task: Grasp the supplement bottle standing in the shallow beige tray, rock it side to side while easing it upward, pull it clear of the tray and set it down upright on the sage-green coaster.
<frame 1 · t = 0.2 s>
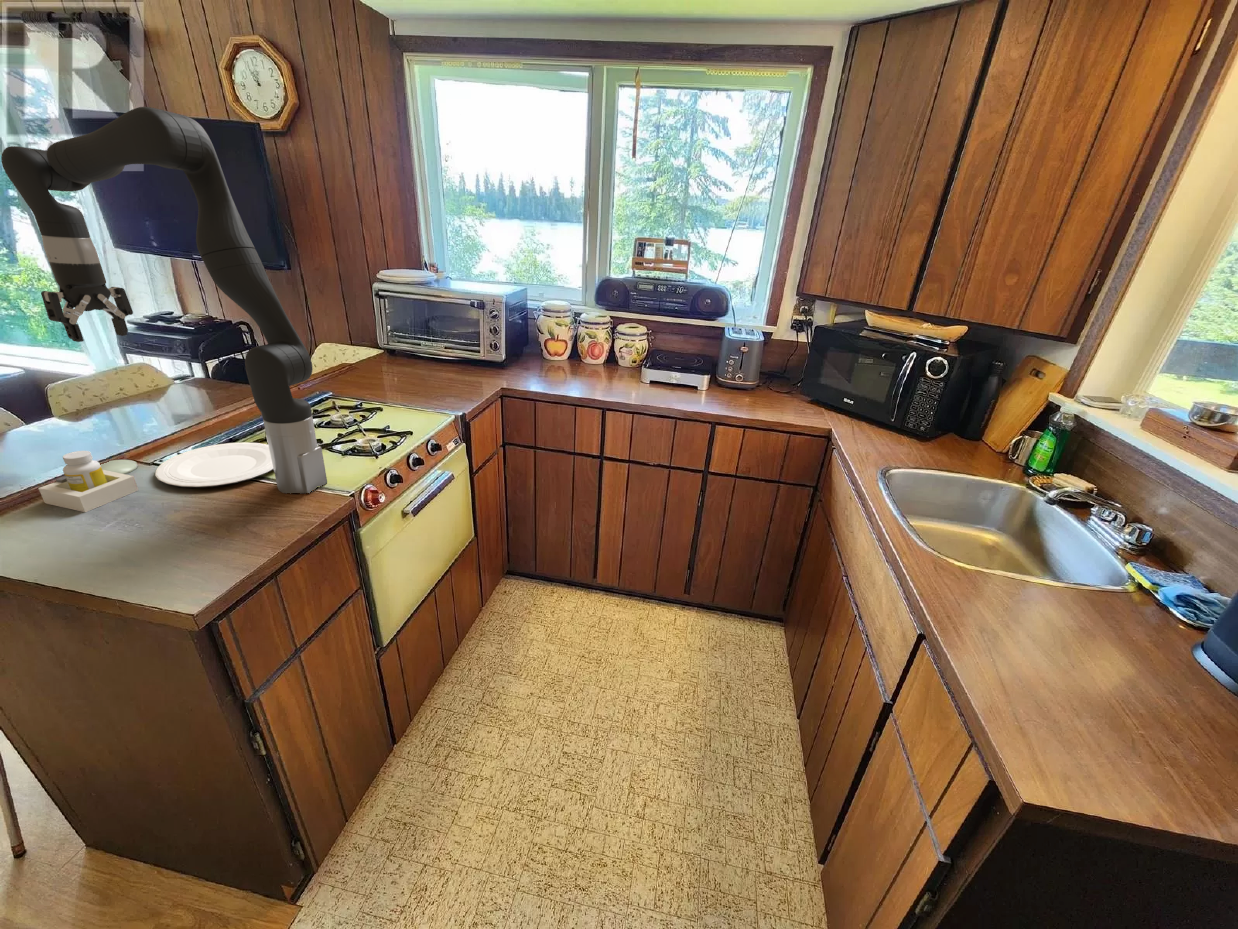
hand: (101, 338, 111), 29 cm above the table, fingers open, 8 cm apart
coaster: (111, 470, 115), on the table
plate: (225, 469, 121), on the table
supplement bottle: (93, 497, 105), resting in shallow beige tray
shallow beige tray: (93, 496, 105), on the table
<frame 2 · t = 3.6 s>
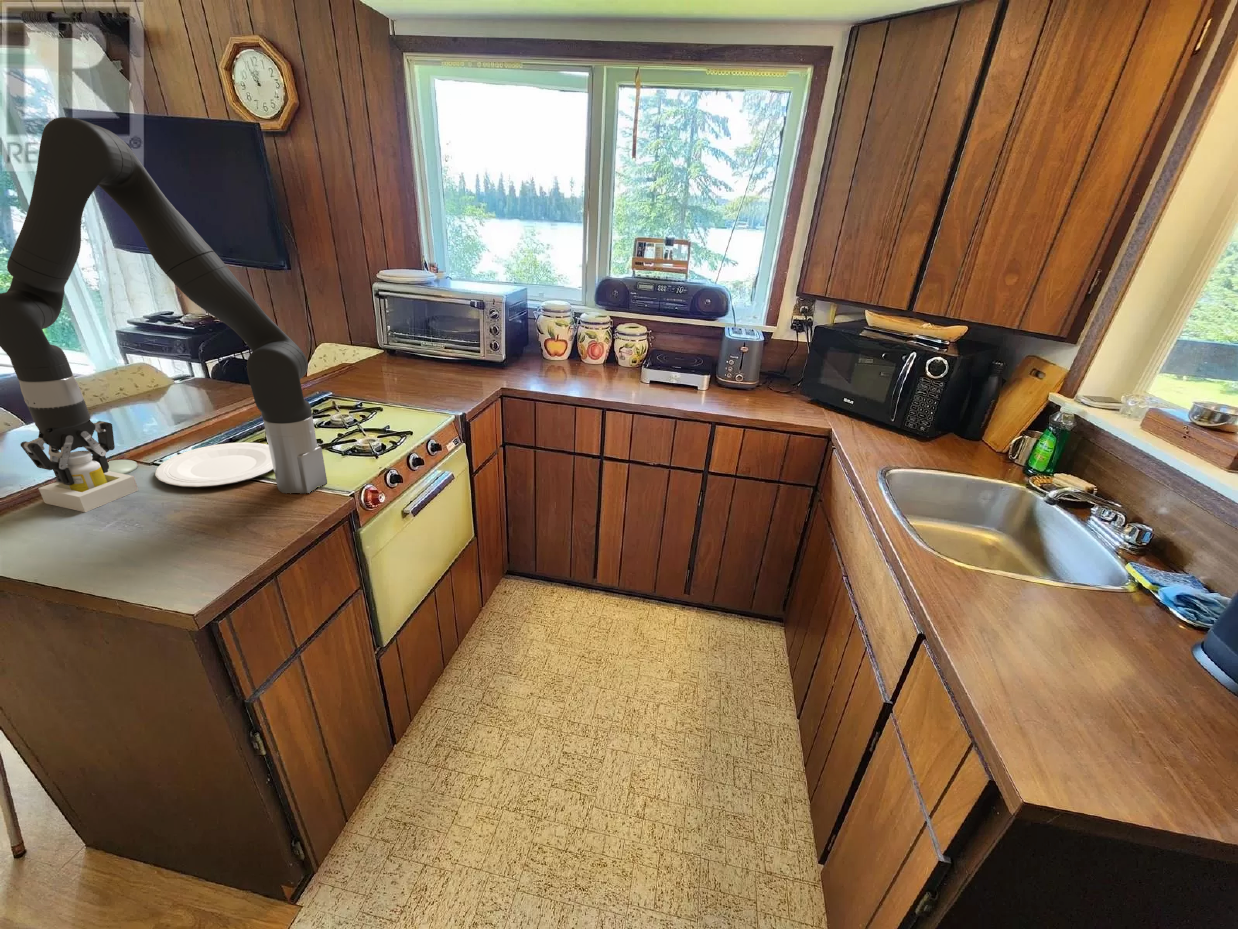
hand: (86, 477, 103), 4 cm above the table, fingers closed on supplement bottle, 5 cm apart
supplement bottle: (93, 497, 105), resting in shallow beige tray, touching gripper
everything else where it was.
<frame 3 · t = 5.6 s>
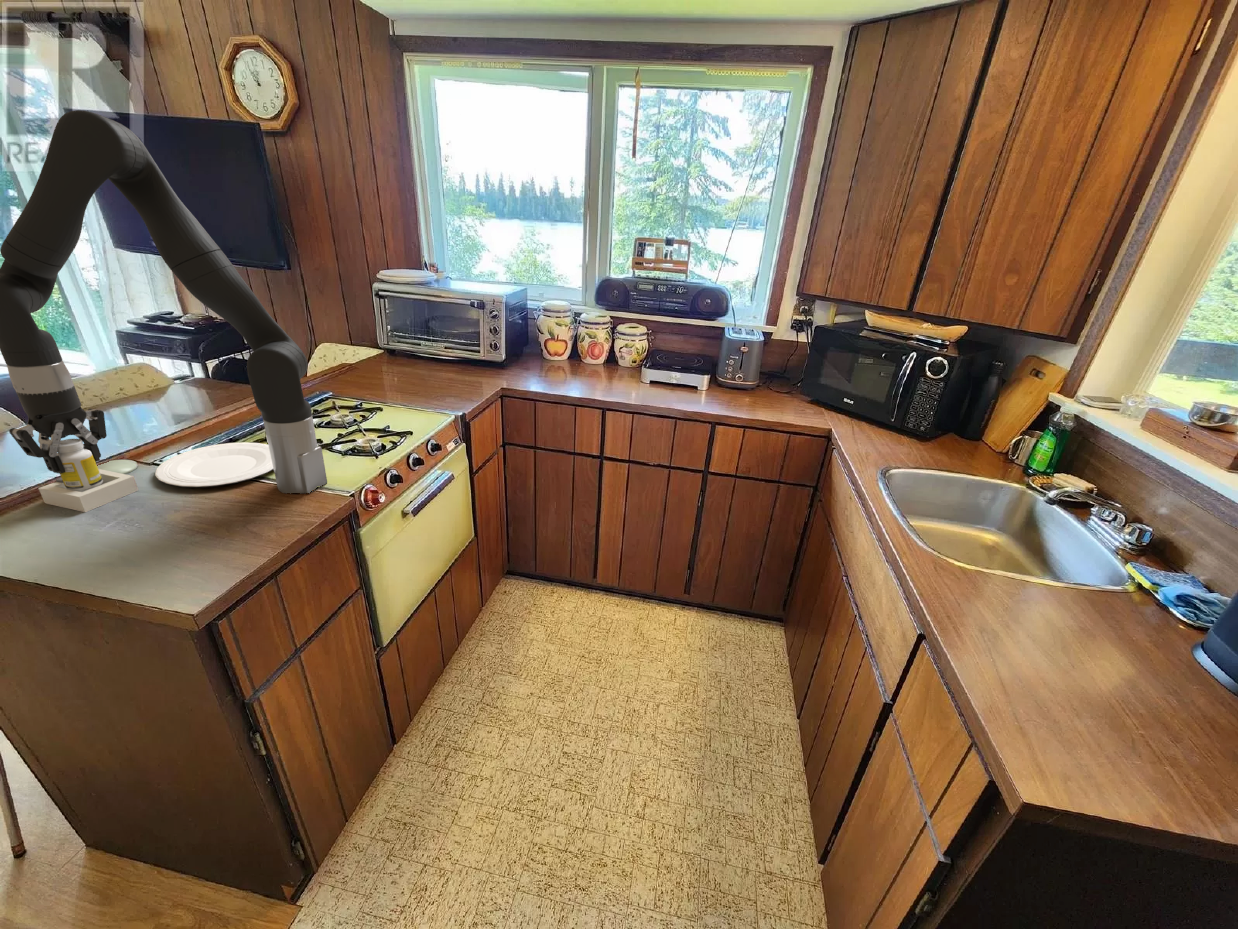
hand: (77, 466, 101), 7 cm above the table, fingers closed on supplement bottle, 5 cm apart
supplement bottle: (85, 486, 103), point 3 cm above the table, touching gripper
everything else where it was.
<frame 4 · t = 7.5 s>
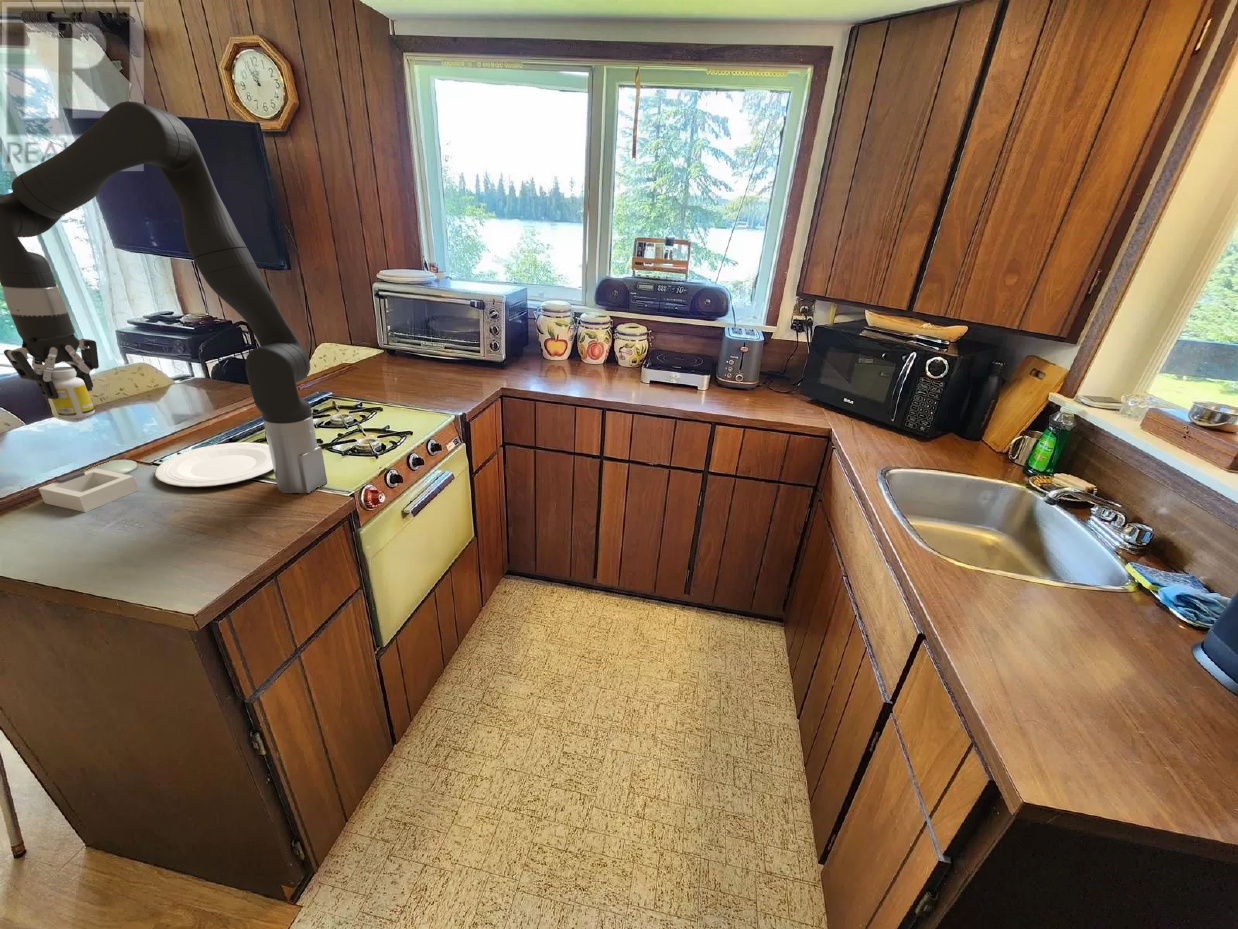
hand: (70, 394, 103), 20 cm above the table, fingers closed on supplement bottle, 5 cm apart
supplement bottle: (77, 415, 105), point 15 cm above the table, touching gripper
everything else where it was.
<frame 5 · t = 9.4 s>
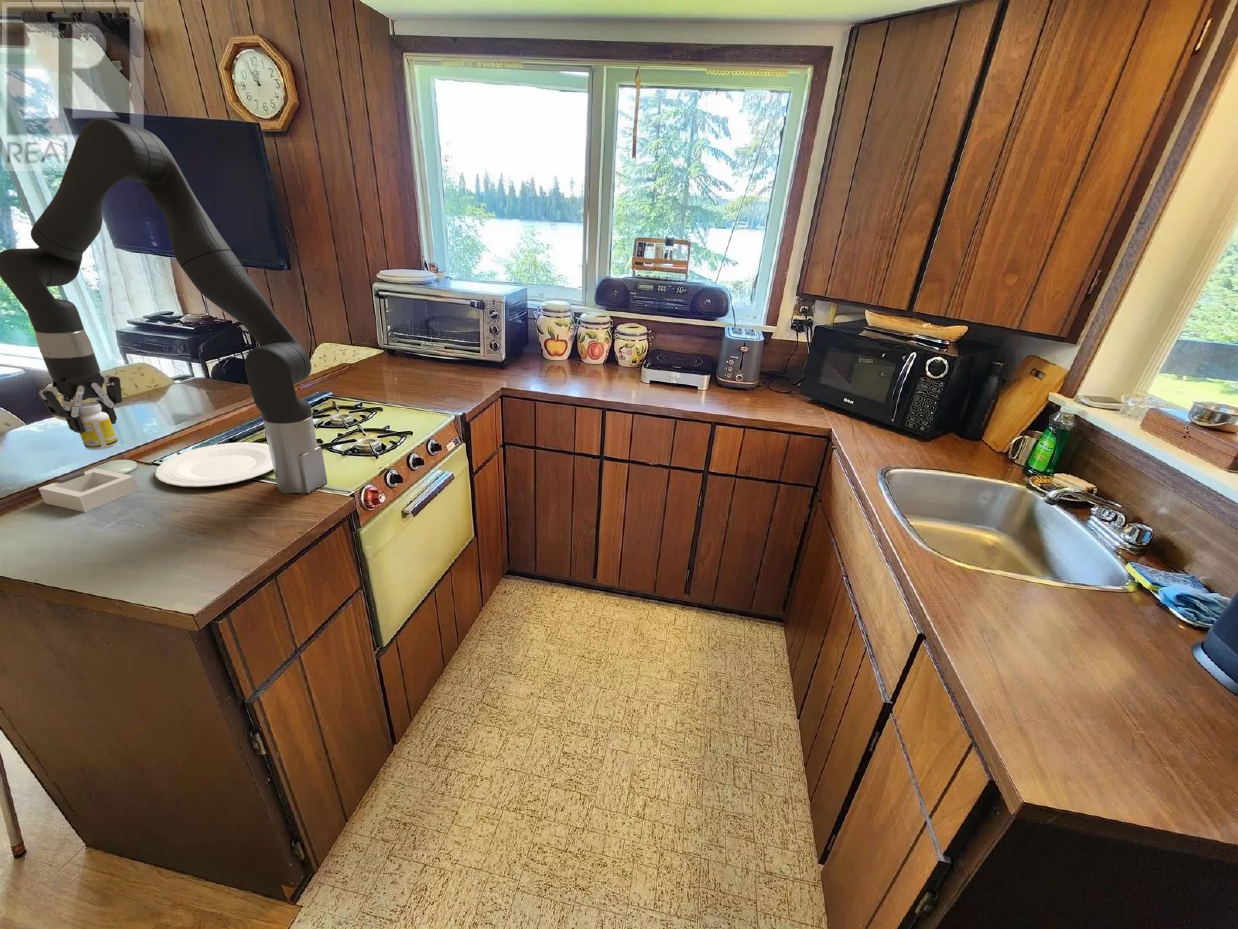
hand: (95, 427, 110), 11 cm above the table, fingers closed on supplement bottle, 5 cm apart
supplement bottle: (102, 446, 112), point 6 cm above the table, touching gripper
everything else where it was.
when the fingers open (6 cm above the table, at t = 11.2 s): supplement bottle stays where it is, resting on coaster.
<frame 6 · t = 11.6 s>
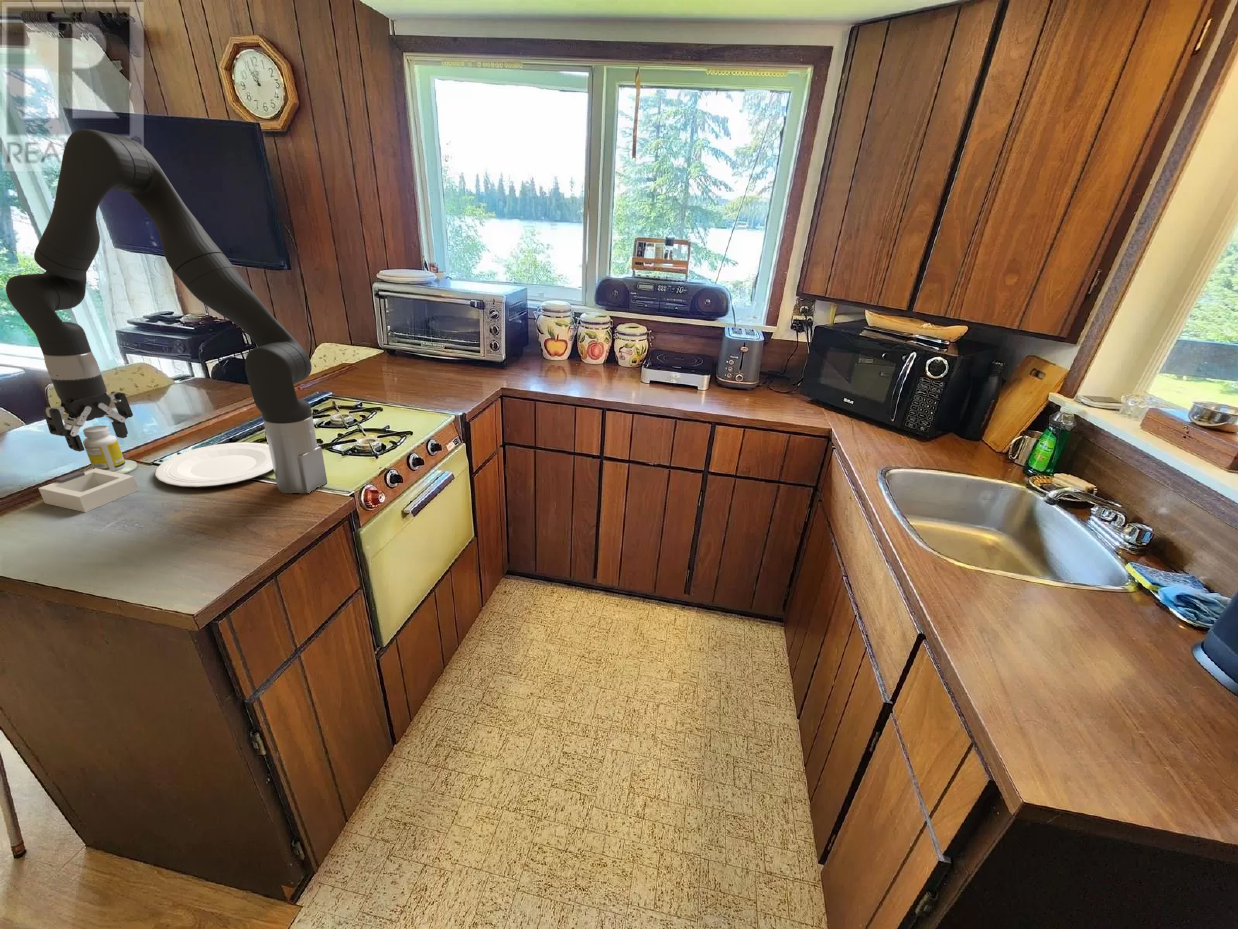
hand: (101, 443, 112), 7 cm above the table, fingers open, 8 cm apart
supplement bottle: (110, 468, 114), resting on coaster
everything else where it was.
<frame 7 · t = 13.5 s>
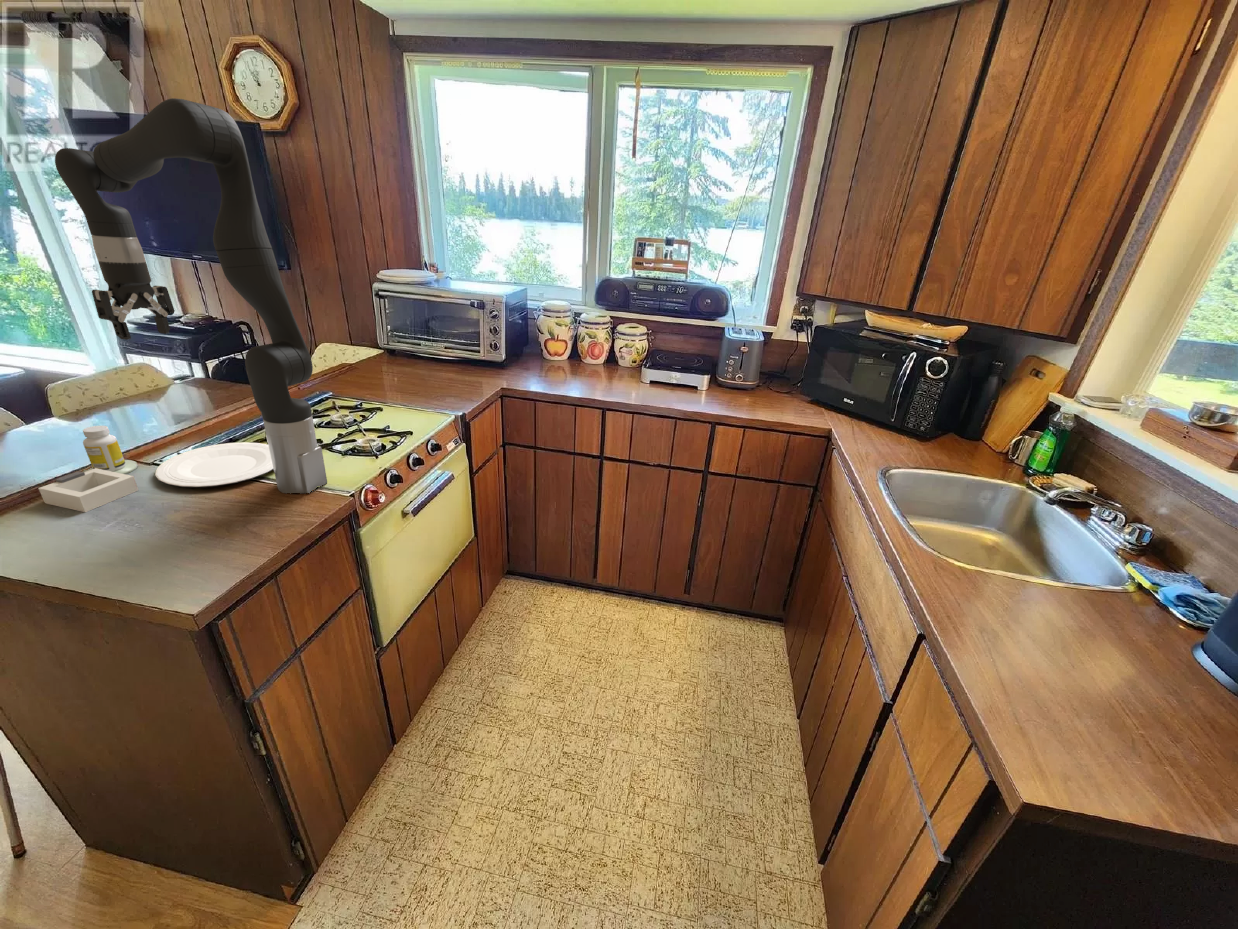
hand: (145, 335, 113), 29 cm above the table, fingers open, 8 cm apart
nothing on the table moved.
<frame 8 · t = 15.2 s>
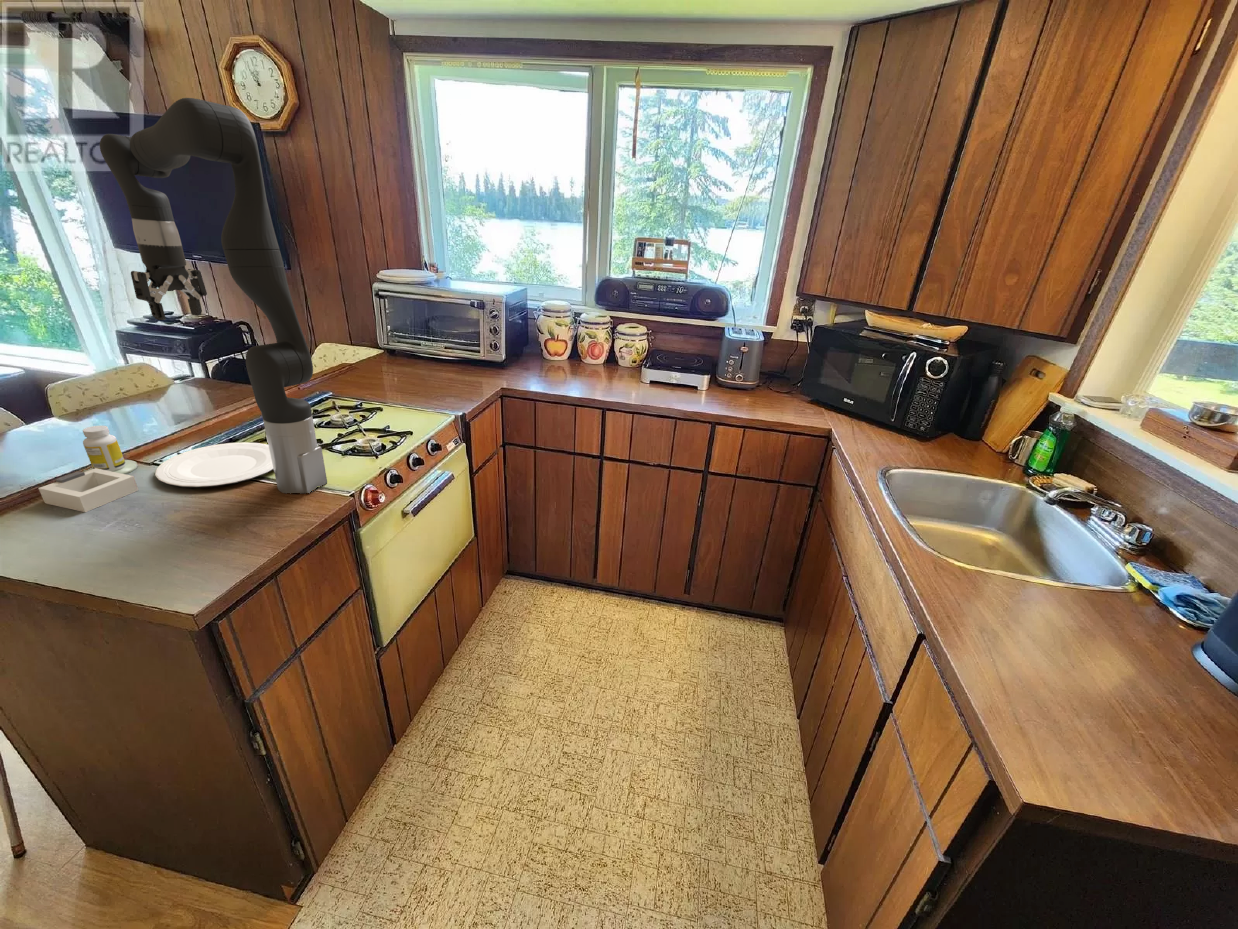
hand: (179, 317, 117), 33 cm above the table, fingers open, 8 cm apart
nothing on the table moved.
at the end: supplement bottle 0.1 cm from the coaster (horizontally); supplement bottle tilted 0°; the gripper is holding nothing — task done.
